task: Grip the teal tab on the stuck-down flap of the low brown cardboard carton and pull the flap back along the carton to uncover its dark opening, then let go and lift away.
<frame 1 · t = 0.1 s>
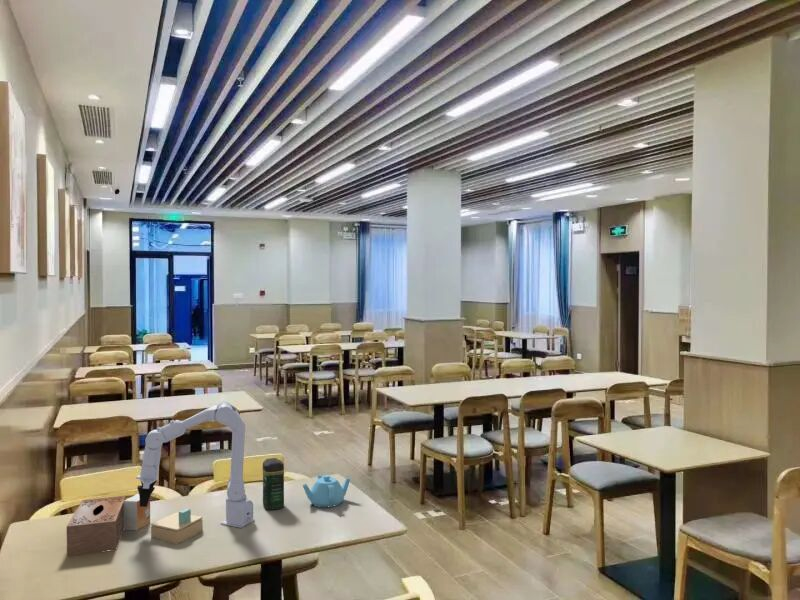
hand: (144, 502, 212), 11 cm above the table, tool pointing down, fingers open, 7 cm apart
tissue box cover: (98, 539, 207), on the table
small box: (137, 526, 217), on the table
coffee jar: (273, 506, 237), on the table
flap: (177, 515, 210), point 7 cm above the table, slide at 0.0 cm
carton: (177, 534, 210), on the table
teapot: (326, 502, 241), on the table
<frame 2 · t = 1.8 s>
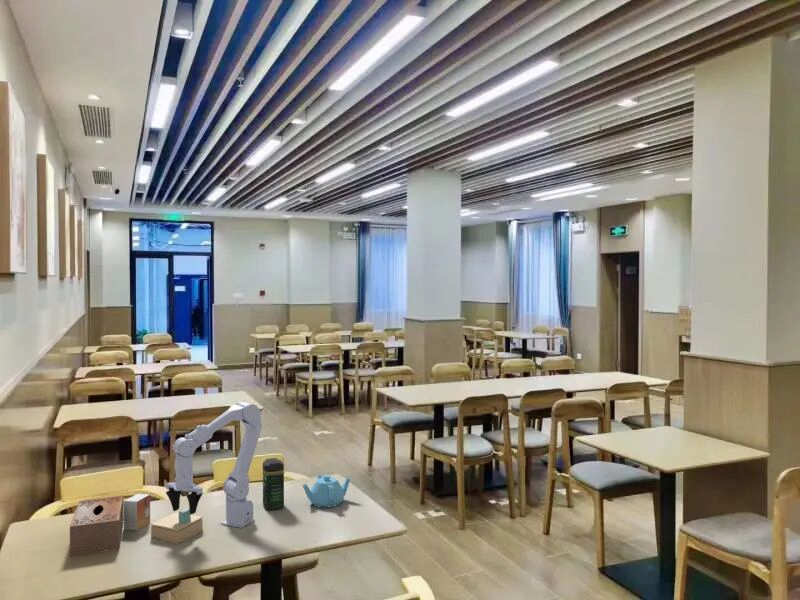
hand: (184, 511, 208), 9 cm above the table, tool pointing down, fingers open, 7 cm apart
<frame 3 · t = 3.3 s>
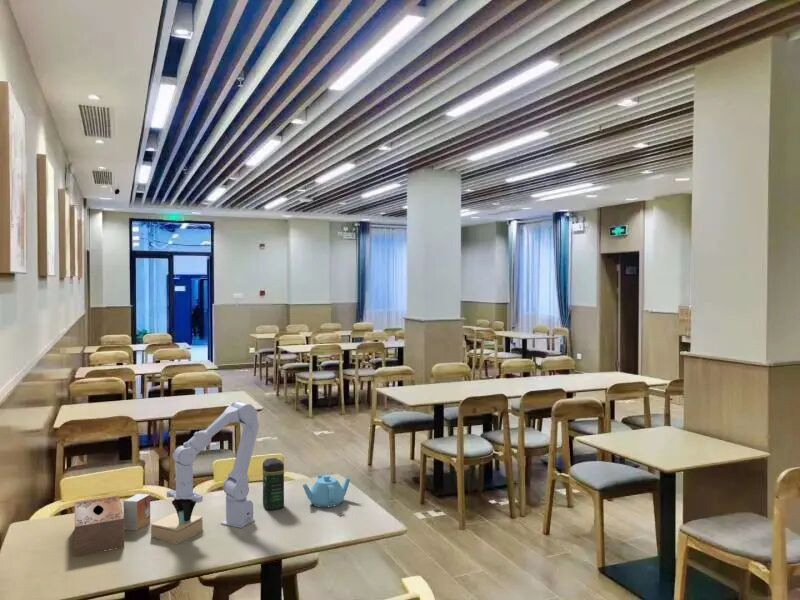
hand: (184, 519, 208), 6 cm above the table, tool pointing down, fingers closed on flap, 2 cm apart
flap: (177, 515, 210), point 7 cm above the table, slide at 0.0 cm, touching gripper
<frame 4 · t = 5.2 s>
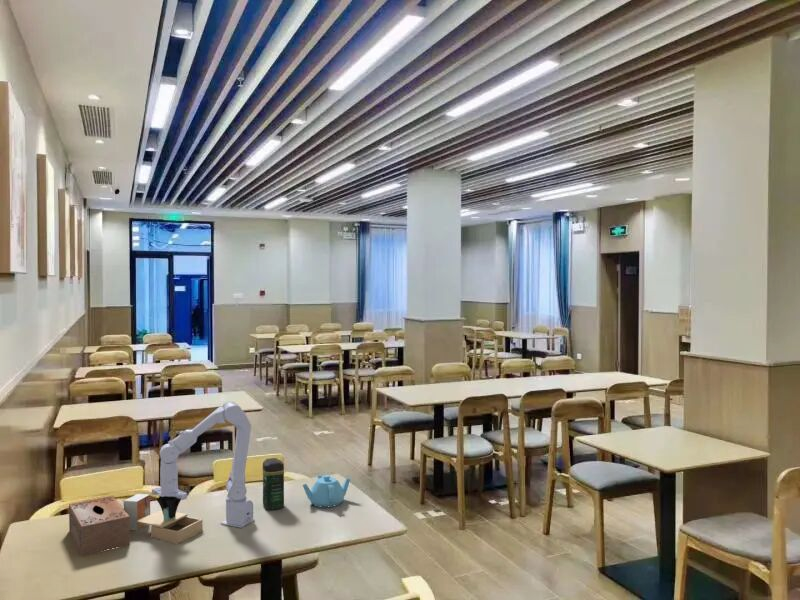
hand: (169, 516, 211), 6 cm above the table, tool pointing down, fingers closed on flap, 2 cm apart
flap: (162, 512, 212), point 7 cm above the table, slide at 7.0 cm, touching gripper
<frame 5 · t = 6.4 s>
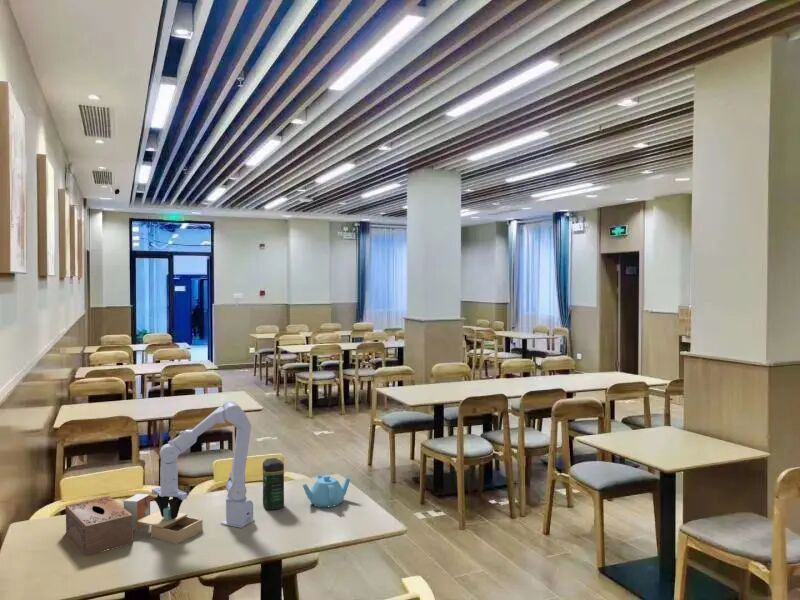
hand: (169, 516, 211), 6 cm above the table, tool pointing down, fingers open, 4 cm apart
flap: (162, 512, 212), point 7 cm above the table, slide at 7.0 cm
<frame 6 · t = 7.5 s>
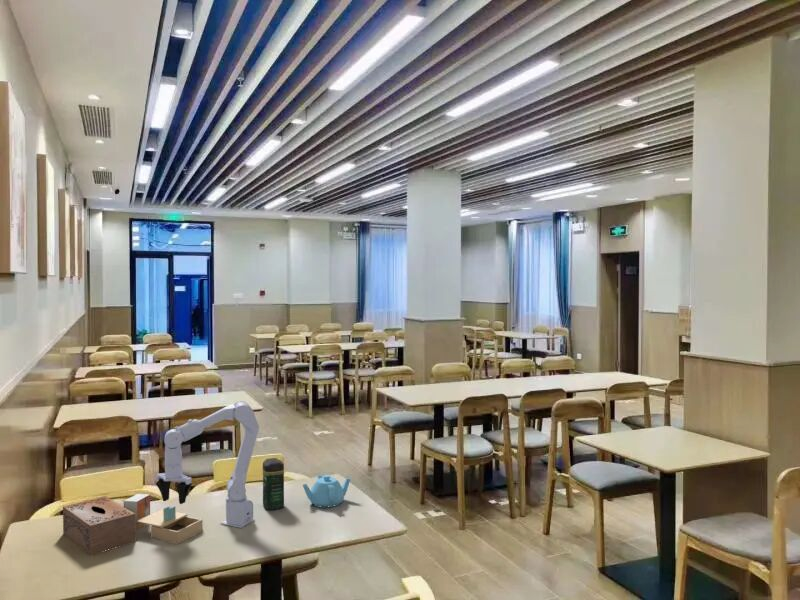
hand: (174, 501, 213), 10 cm above the table, tool pointing down, fingers open, 7 cm apart
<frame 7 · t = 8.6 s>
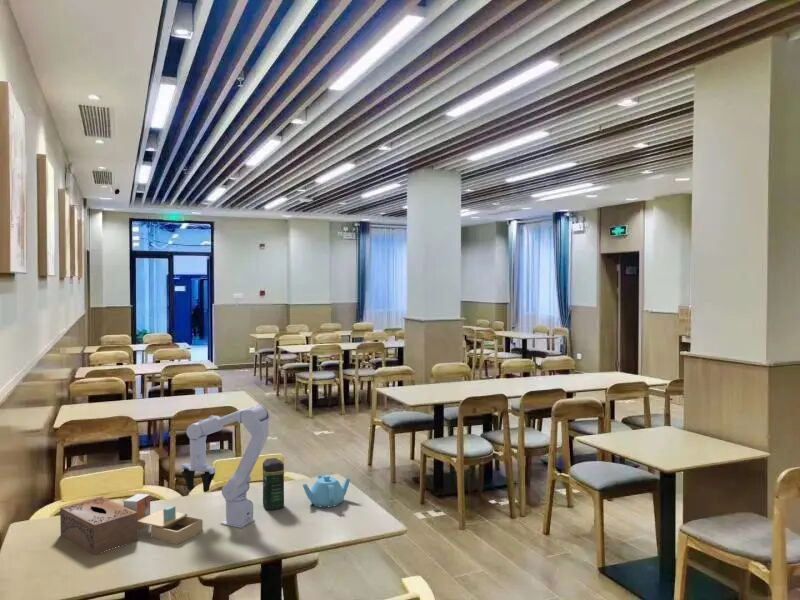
hand: (198, 490, 225), 10 cm above the table, tool pointing down, fingers open, 7 cm apart
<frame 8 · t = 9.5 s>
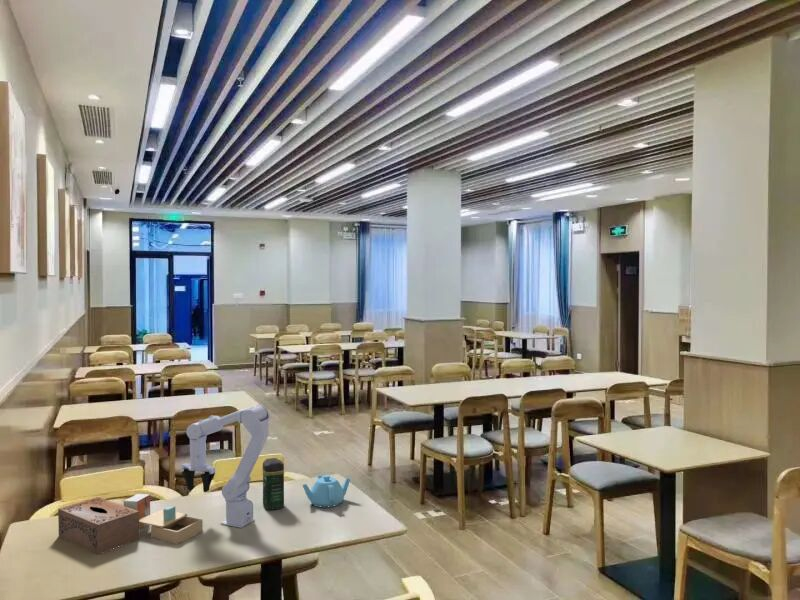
hand: (198, 490, 225), 10 cm above the table, tool pointing down, fingers open, 7 cm apart
at the end: flap slide at 7.0 cm; the gripper is holding nothing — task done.
